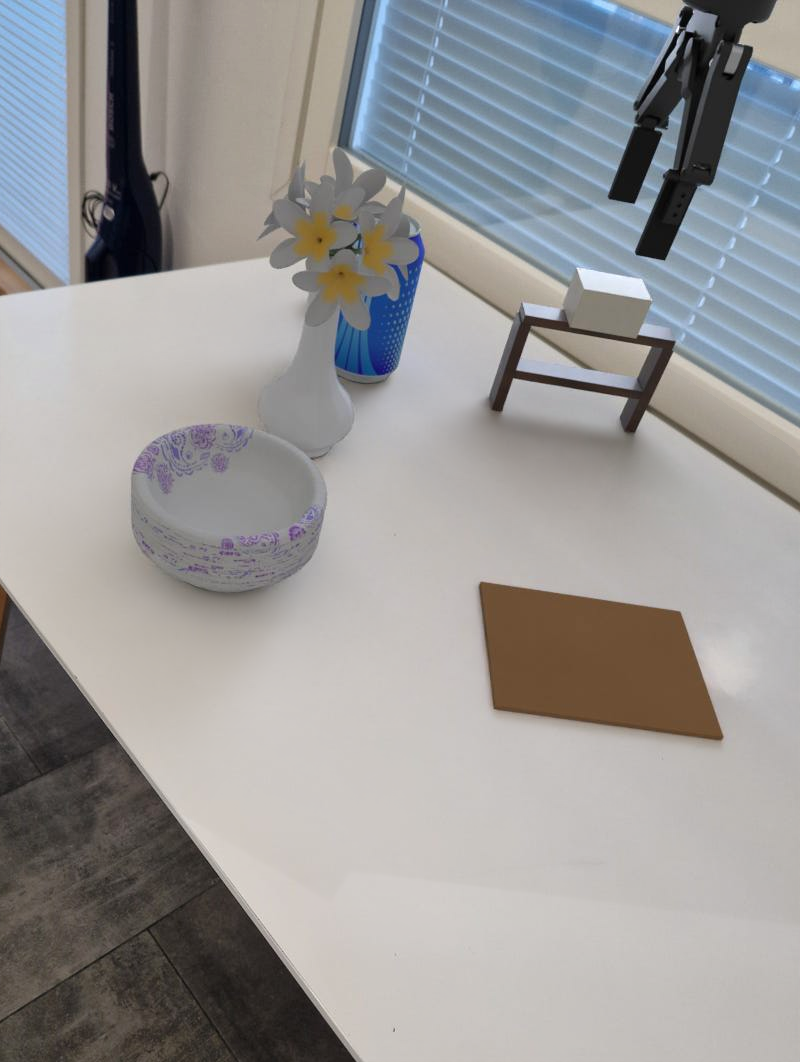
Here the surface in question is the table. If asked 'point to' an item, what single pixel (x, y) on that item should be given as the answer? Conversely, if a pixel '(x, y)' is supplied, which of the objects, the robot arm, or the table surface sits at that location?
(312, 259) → the flower vase
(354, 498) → the table surface
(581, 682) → the mat
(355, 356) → the beer can
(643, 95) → the robot arm
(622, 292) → the white cardboard box
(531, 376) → the rack
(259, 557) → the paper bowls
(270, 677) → the table surface
